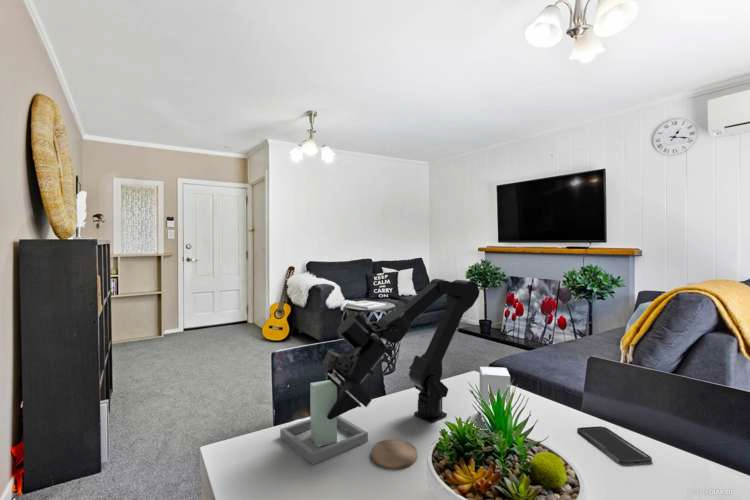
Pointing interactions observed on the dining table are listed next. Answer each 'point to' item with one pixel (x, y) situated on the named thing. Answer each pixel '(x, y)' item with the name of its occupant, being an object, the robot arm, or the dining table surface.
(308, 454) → the tray
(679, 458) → the dining table surface
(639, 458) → the phone
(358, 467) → the dining table surface
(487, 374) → the supplement box
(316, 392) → the green block
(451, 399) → the dining table surface
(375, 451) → the coaster
